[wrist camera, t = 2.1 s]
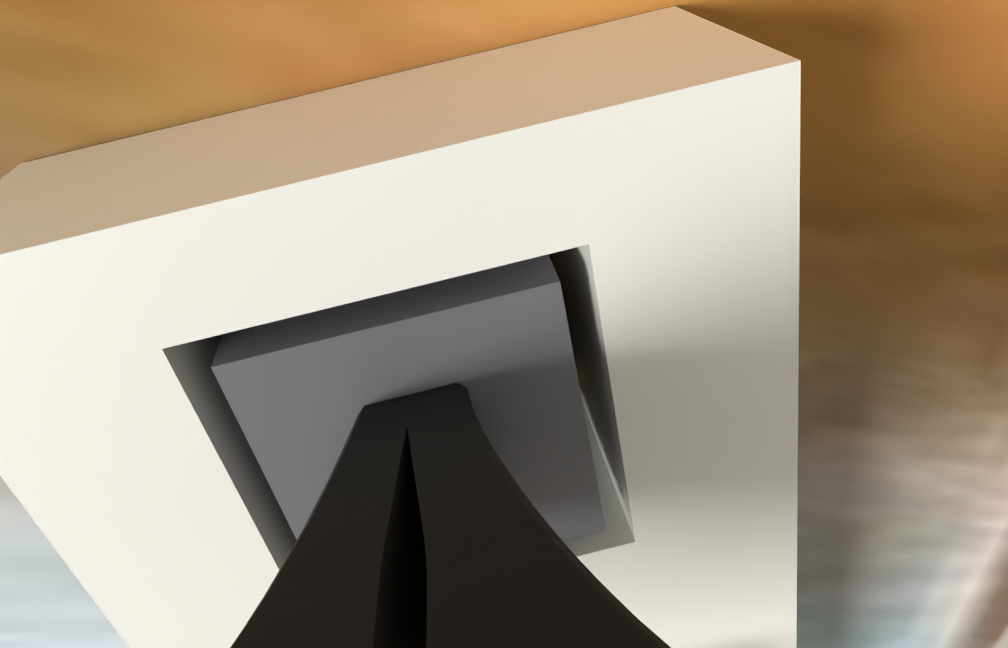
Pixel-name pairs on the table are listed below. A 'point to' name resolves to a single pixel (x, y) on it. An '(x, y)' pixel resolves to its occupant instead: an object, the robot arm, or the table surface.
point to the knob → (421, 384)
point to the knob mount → (414, 262)
